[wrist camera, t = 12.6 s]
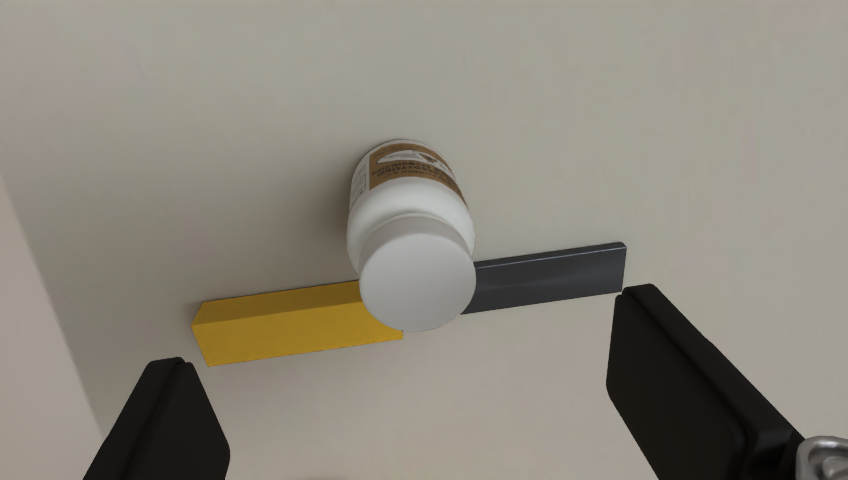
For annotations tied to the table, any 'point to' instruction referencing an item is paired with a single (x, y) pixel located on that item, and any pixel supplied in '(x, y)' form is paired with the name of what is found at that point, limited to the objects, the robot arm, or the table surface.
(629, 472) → the table surface
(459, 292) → the pill bottle
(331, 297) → the knife
